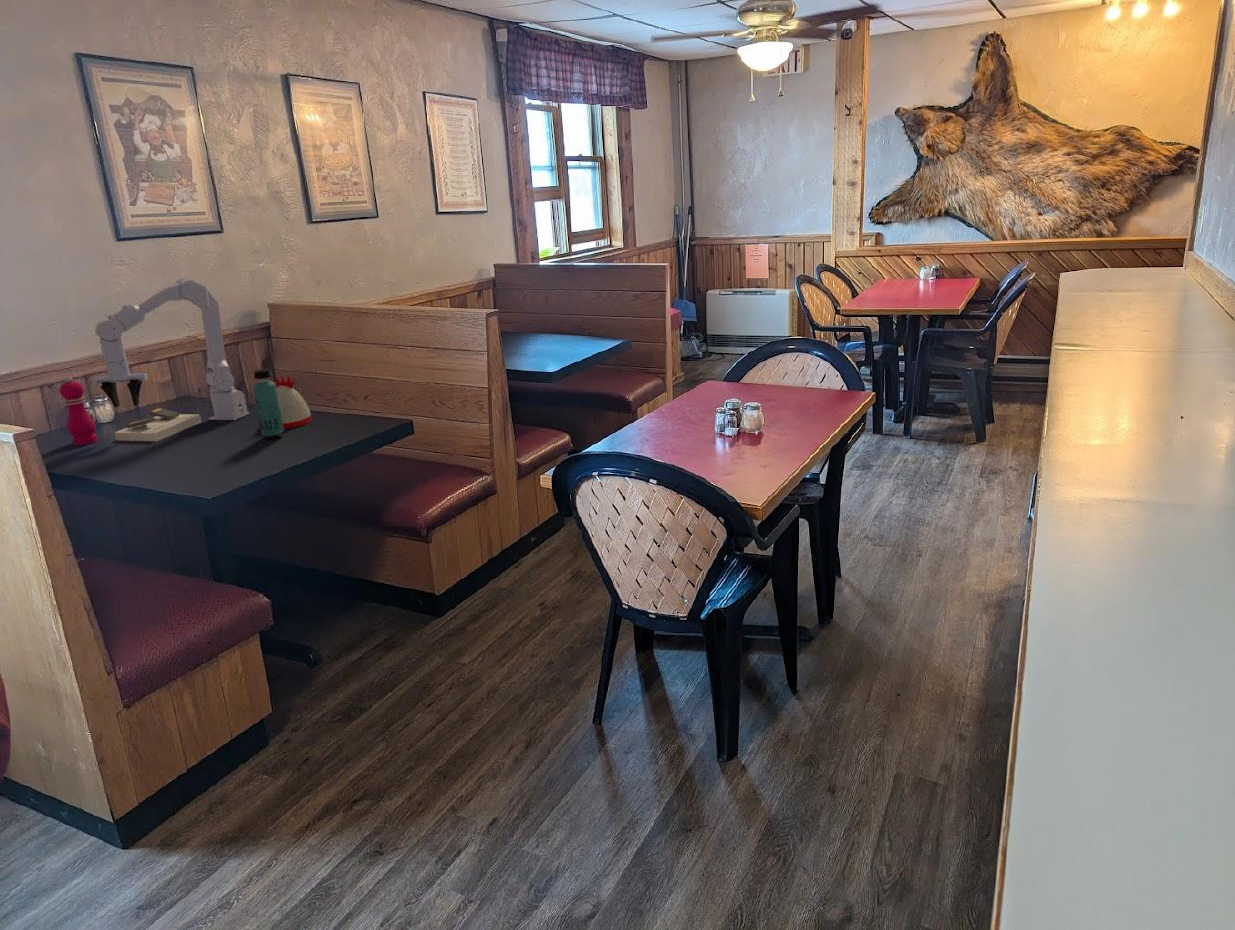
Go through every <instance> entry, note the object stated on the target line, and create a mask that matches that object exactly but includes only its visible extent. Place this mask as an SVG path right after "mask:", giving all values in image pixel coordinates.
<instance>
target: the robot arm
mask: <svg viewBox="0 0 1235 930" xmlns="http://www.w3.org/2000/svg"><path fill="white" fill-rule="evenodd" d="M182 300H184V301H187V302H190V303H192V304H193V306H196V307H197V308H199V309H200V310H201V317H202V326H203V333H204V339H205V340H204V341H205V346H206V347H205V348H206V355H207V364H206V367H207V369H206V373H205V376H204V377H205V381H206V383H207V384H208V385H209V386H210V387H209V390H208V391H209V395H210V401H211V405H212V409H213V415H214V416H211V417H209V418H208V420H209V421H211V420H212V421H215V420H216V421H236V420H238V419H240V418H242V417H245V416H248V415H249V414H250V412H249V411H248V407H247V403H246V398H245V394H244V392H243V391H242V390H237V389H236V388H235V387H234V383H235V378H234V376H233V375H232V373H231V371H230V367H229V364H228V362H227V360H226V352H225V347H224V346H225V345H224V337H223V336H224V335H223V331H222V323H221V322H222V321H221V314H220V307H219V302H218V301H217V299H216V298H215V297H214V296H213V294H212V293H211V292H210V291H209V290H208V288H207V286H206V285H203V284H202V283H200V282H199V281H197V280H193V279H189V278H185V277H184V278H180V279H178V280H176V282H172V283H169V284H168V285H166V286H165V287H163V288H161V289H160V290H159V291H157V292H156V293H154V294H152V295H151V296H149V297H148V298H147V299H145V300H144V301H142V302H139V304H138V305H137V304H131V303H130V304H129V305H127V304H124V305H122V306H121V309H120V310H118V311H117V312H115V313H113V314H108V315H106V317H107V319H102V320H100V321H98V322H97V323H96V325H95V329H94V330H95V331H94V332H95V335H97V336H98V337H99V344H100V345H101V346H100V349H101V353H102V356H103V359H104V360H103V361H104V365H105V368H106V373H107V375H101V376H94V377H92V378H91V379H92V383H93V385H101V386H100V389H101V390H102V391H103V392H104V393H105V394H106V395H107V397H108V398H109V399H110V402H111V403H112V404H113V406H114V408H118V407H120V404H121V403H120V400H119V396H118V391H117V383H125V382H126V385H127V387H128V389H129V390H128V391H129V392H130V396H131V400H132V404H133V406H134V407H135V406H138V405H139V404H140V403H139V402H140V401H139V399H140V390H141V387H142V385H143V384H142V383H143V381H148V380H149V378H148V373H147V372H135V373H134V372H133V373H132V372H131V371H130V367H129V361H128V359H127V355H126V351H125V347H124V346H125V345H124V344H123V342H122V335H123V333H127V332H128V331H130V330H131V329H133V328H135V327H136V326H138V325H139V324H141V323H142V322H145V316H146V314H149V313H150V312H152V311H154V310H156V309H158V308H159V307H162V305H164V304H166V303H168V302H170V301H171V302H172V301H173V302H175V301H182Z"/></svg>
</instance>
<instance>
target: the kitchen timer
mask: <svg viewBox="0 0 1235 930" xmlns="http://www.w3.org/2000/svg"><path fill="white" fill-rule="evenodd" d="M287 375H288V376H287V380H285V378H284V376H283V374H281V381H280V378H279V377H278V375H275V376H276V377H275V378H276V379H275V381H274V380H273V379H271V380H270V381H272V382H274V383H275V384H276V390H277V395H278V401H279V406H280V410H281V415H282V422H283V425H284V426H283V427H284V430H285V429H292V428H296V427H301V426H304V425H306V424H307V425H308V424H309V423H310V422H311V421H312V414H311V411H310V409H309V405H308V404H307V403H306V401H305V397H304V396H302V395H301V394H300V392H298V391H297V390H296V389H294V387H293V386H294V384H295V380H296V377H294V378H293V379H292V381H291V379H290V378H291V377H290V374H287Z"/></svg>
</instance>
